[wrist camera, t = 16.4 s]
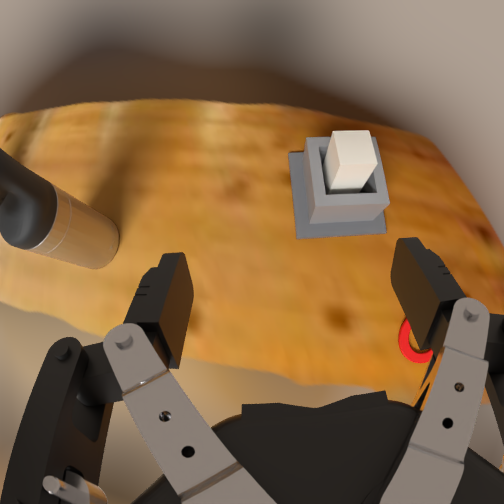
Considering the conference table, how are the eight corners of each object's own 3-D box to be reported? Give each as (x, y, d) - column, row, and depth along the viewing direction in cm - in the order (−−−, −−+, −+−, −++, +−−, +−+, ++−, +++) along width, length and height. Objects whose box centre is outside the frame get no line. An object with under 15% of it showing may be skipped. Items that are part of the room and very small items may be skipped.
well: (296, 239, 47) (300, 223, 38) (288, 155, 50) (289, 126, 41) (384, 233, 46) (405, 217, 38) (370, 153, 49) (385, 125, 40)
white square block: (323, 205, 47) (340, 165, 33) (318, 178, 48) (332, 131, 34) (351, 203, 47) (377, 163, 33) (346, 176, 47) (368, 130, 34)
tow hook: (433, 366, 42) (450, 311, 43) (474, 384, 29) (495, 313, 30) (390, 355, 43) (407, 297, 44) (424, 374, 31) (447, 297, 31)
